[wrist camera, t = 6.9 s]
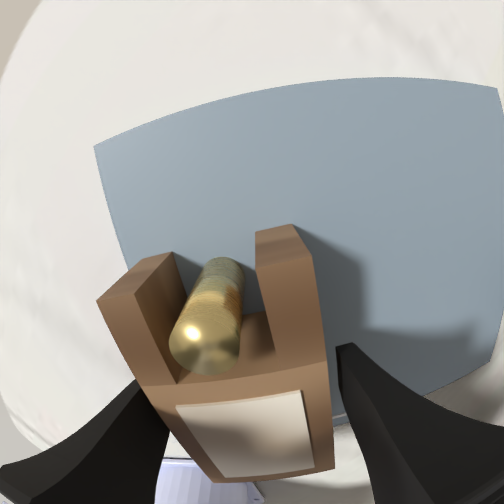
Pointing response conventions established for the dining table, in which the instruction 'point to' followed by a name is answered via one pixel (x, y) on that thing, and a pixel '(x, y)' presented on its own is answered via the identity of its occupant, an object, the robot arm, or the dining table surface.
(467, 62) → the dining table surface
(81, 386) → the dining table surface
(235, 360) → the peg
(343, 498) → the dining table surface
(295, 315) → the wooden holder
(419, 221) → the board
